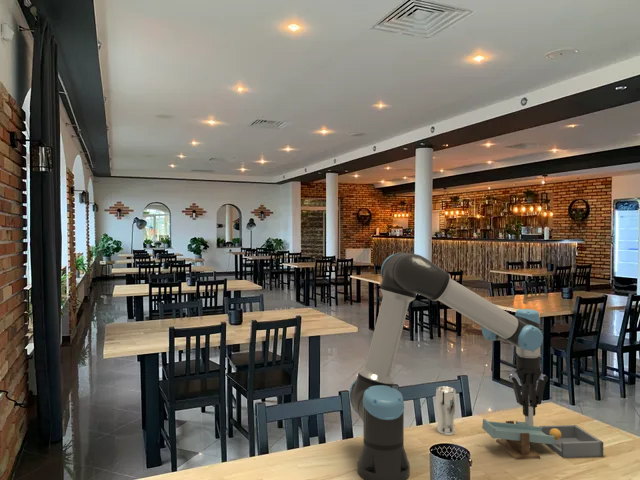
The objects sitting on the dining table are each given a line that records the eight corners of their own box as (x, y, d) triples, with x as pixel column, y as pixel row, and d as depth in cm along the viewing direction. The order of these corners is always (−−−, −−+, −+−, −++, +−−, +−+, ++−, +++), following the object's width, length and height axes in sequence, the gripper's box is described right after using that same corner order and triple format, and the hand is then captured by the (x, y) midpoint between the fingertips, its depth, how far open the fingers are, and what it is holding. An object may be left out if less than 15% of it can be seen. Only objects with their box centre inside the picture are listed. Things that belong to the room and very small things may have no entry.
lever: (493, 438, 149) (494, 428, 149) (473, 419, 164) (474, 411, 164) (554, 444, 151) (555, 435, 151) (529, 425, 166) (530, 417, 166)
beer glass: (433, 433, 167) (433, 390, 167) (438, 426, 174) (438, 385, 173) (453, 437, 164) (453, 393, 164) (458, 429, 170) (457, 387, 170)
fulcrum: (515, 459, 147) (515, 435, 147) (496, 441, 160) (496, 420, 160) (540, 458, 148) (540, 435, 148) (519, 440, 161) (519, 419, 161)
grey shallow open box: (563, 458, 148) (563, 443, 148) (539, 439, 162) (539, 426, 162) (603, 456, 149) (603, 442, 149) (575, 438, 163) (575, 424, 163)
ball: (560, 443, 154) (551, 438, 153) (554, 439, 157) (545, 434, 157) (565, 434, 154) (556, 428, 153) (559, 429, 157) (550, 424, 157)
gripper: (515, 359, 158) (516, 430, 158) (552, 357, 159) (553, 428, 159) (504, 353, 166) (505, 421, 166) (540, 352, 166) (541, 420, 167)
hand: (529, 425), depth 162 cm, fingers closed
